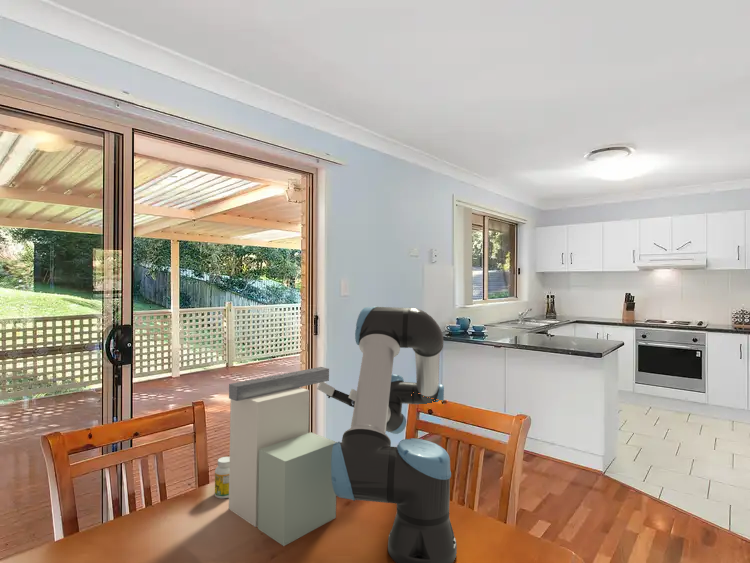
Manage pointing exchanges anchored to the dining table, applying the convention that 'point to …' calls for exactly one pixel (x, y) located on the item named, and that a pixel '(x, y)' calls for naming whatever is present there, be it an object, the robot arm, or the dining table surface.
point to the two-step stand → (279, 466)
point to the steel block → (277, 383)
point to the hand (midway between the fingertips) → (334, 389)
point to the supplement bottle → (222, 478)
